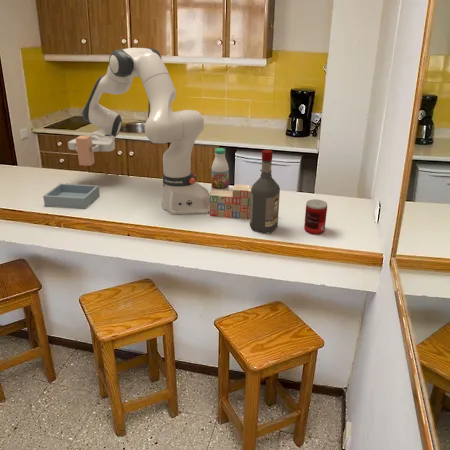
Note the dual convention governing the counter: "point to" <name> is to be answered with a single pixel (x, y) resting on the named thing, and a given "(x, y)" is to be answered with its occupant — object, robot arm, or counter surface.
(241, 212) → the stack of blocks
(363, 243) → the counter surface
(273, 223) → the liquor
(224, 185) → the milk bottle
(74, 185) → the tray
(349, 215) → the counter surface
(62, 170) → the counter surface
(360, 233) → the counter surface
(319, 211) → the canned food
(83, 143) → the terracotta block
